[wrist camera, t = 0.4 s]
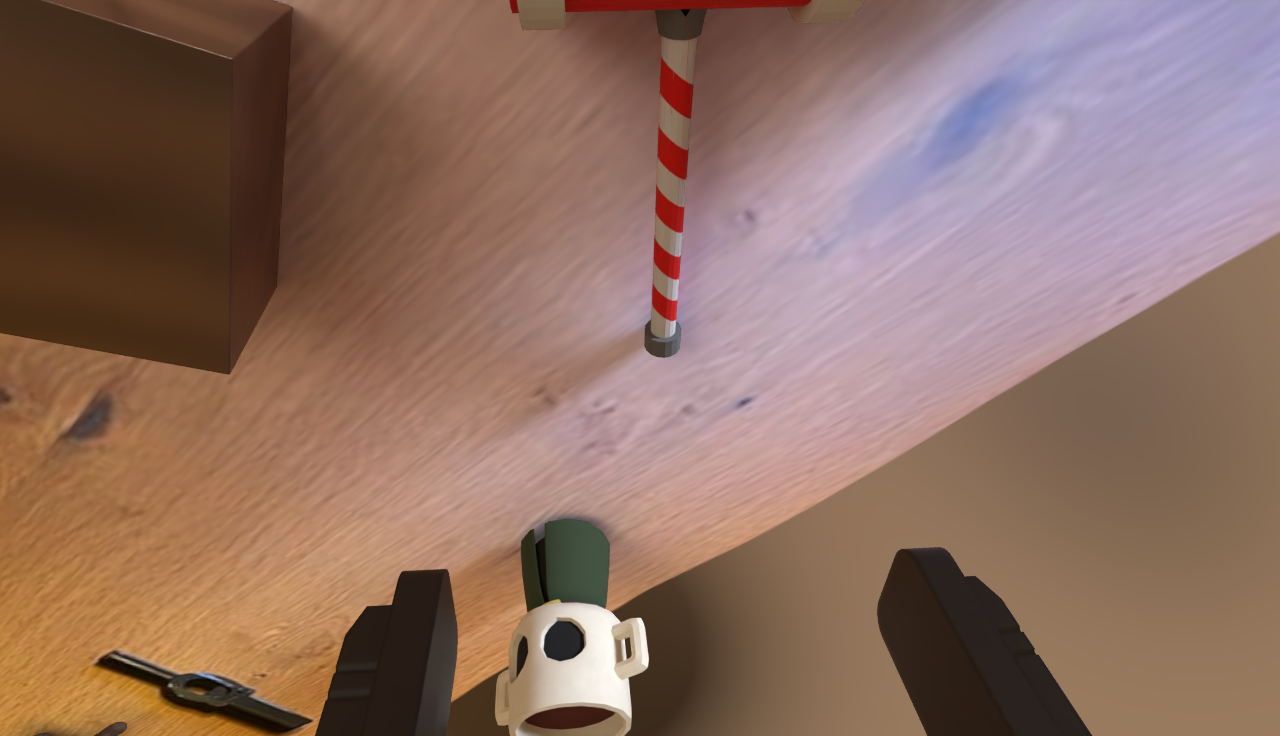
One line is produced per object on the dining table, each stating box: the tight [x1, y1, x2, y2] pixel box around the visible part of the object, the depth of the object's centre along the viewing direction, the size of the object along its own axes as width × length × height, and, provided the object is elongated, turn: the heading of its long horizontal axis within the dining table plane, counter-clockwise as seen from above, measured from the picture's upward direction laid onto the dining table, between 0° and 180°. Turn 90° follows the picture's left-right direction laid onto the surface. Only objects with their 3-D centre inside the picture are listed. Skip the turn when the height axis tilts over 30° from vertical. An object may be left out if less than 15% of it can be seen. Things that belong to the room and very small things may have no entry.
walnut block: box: [0, 0, 293, 374], centre depth 25 cm, size 13×11×6 cm
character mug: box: [495, 519, 649, 736], centre depth 43 cm, size 11×7×13 cm, turn 121°
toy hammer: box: [509, 0, 865, 358], centre depth 27 cm, size 23×12×6 cm, turn 0°
